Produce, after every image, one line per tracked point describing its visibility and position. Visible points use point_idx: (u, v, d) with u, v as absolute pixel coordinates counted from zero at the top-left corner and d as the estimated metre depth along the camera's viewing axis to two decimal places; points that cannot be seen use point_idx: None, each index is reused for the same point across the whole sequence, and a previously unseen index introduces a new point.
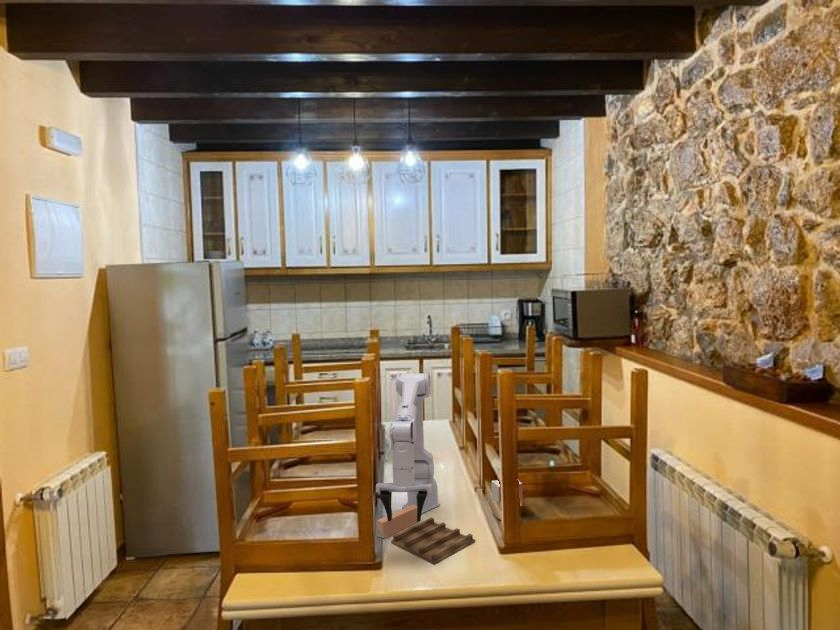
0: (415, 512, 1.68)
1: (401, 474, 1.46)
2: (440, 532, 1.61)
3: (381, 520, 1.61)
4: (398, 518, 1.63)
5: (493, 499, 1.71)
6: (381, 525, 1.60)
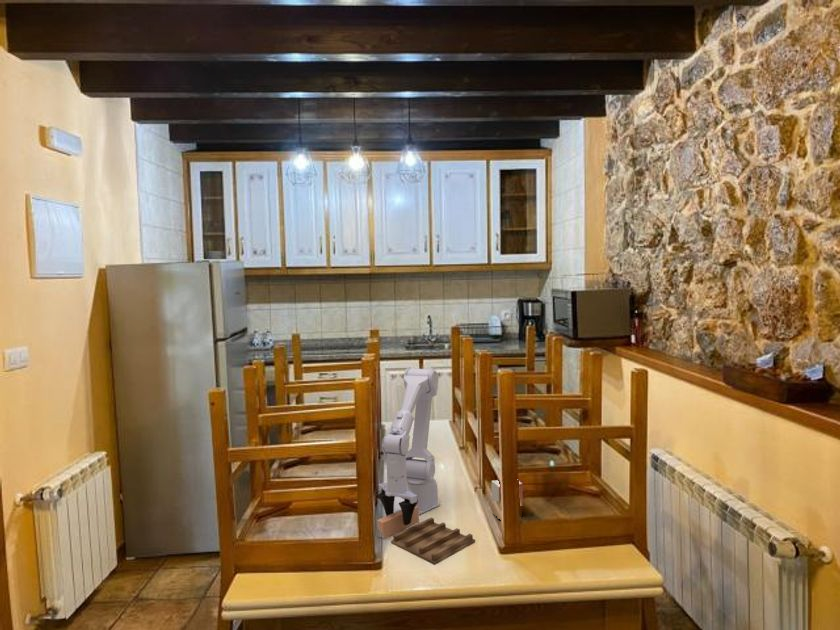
0: (415, 512, 1.68)
1: (389, 481, 1.62)
2: (440, 532, 1.61)
3: (381, 520, 1.61)
4: (398, 518, 1.63)
5: (493, 499, 1.71)
6: (381, 525, 1.60)
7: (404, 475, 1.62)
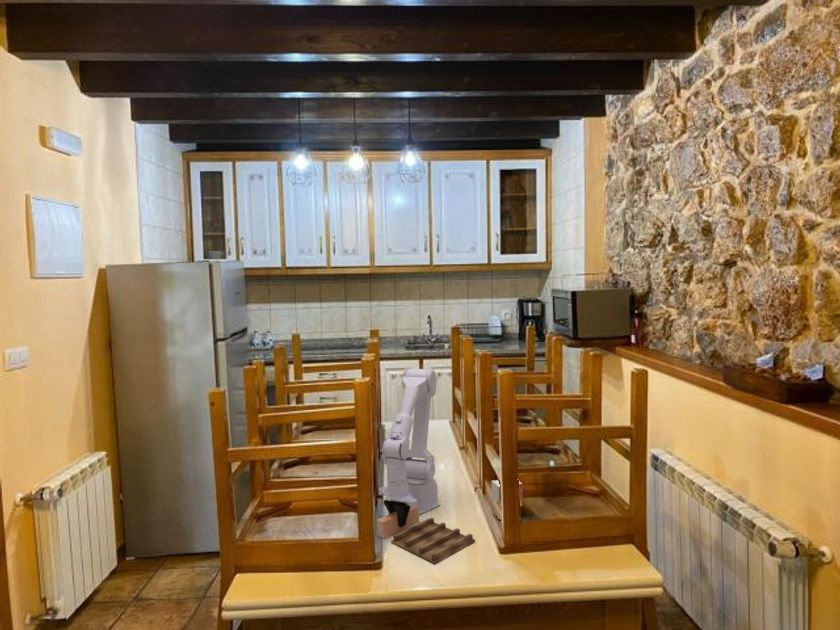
0: (415, 512, 1.68)
1: (389, 486, 1.62)
2: (440, 532, 1.61)
3: (381, 520, 1.61)
4: None
5: (493, 499, 1.71)
6: (381, 525, 1.60)
7: (404, 480, 1.62)
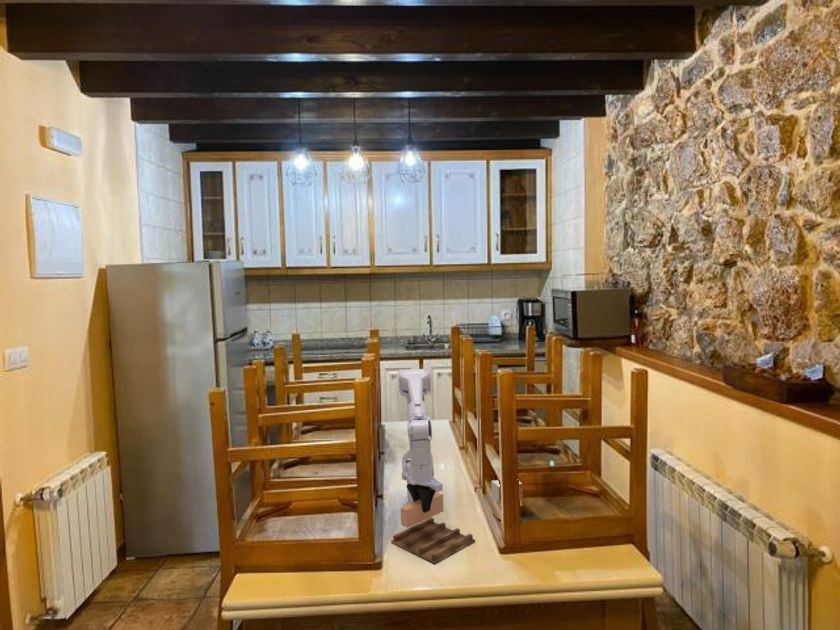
0: (439, 500, 1.61)
1: (413, 469, 1.55)
2: (440, 532, 1.61)
3: (405, 507, 1.54)
4: None
5: (493, 499, 1.71)
6: (405, 512, 1.53)
7: (430, 461, 1.56)
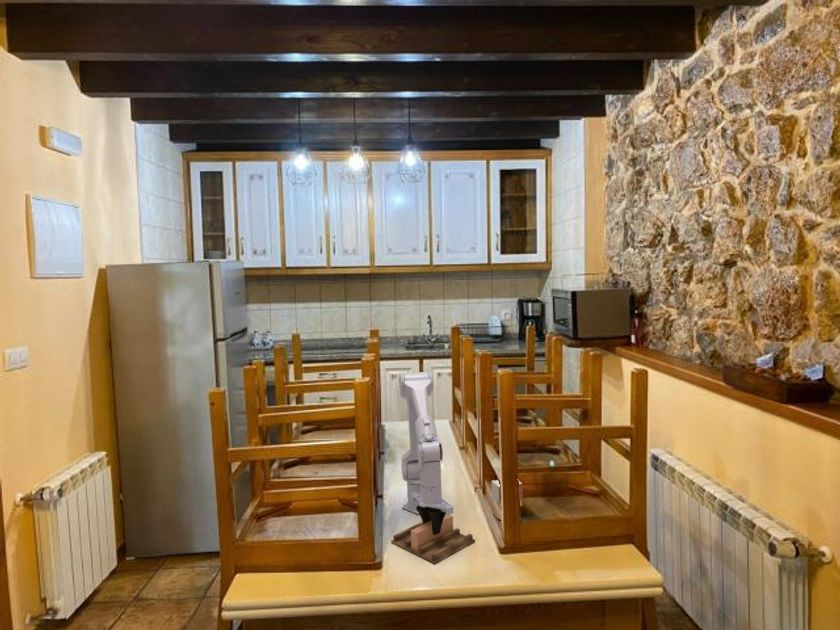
0: (449, 521, 1.59)
1: (423, 491, 1.53)
2: None
3: (415, 530, 1.52)
4: None
5: (493, 499, 1.71)
6: (415, 536, 1.51)
7: None
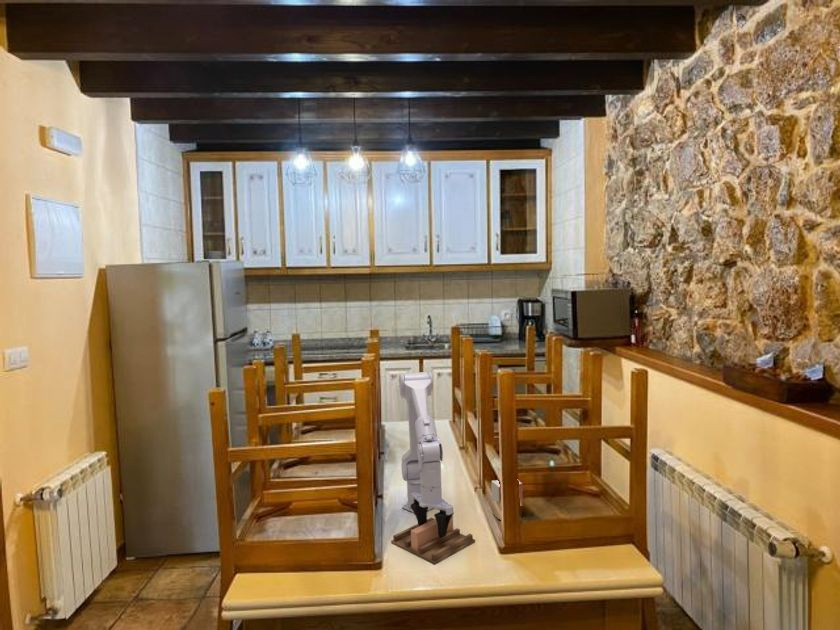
0: None
1: (423, 492, 1.53)
2: None
3: (415, 530, 1.52)
4: (432, 529, 1.55)
5: (493, 499, 1.71)
6: (415, 536, 1.51)
7: None
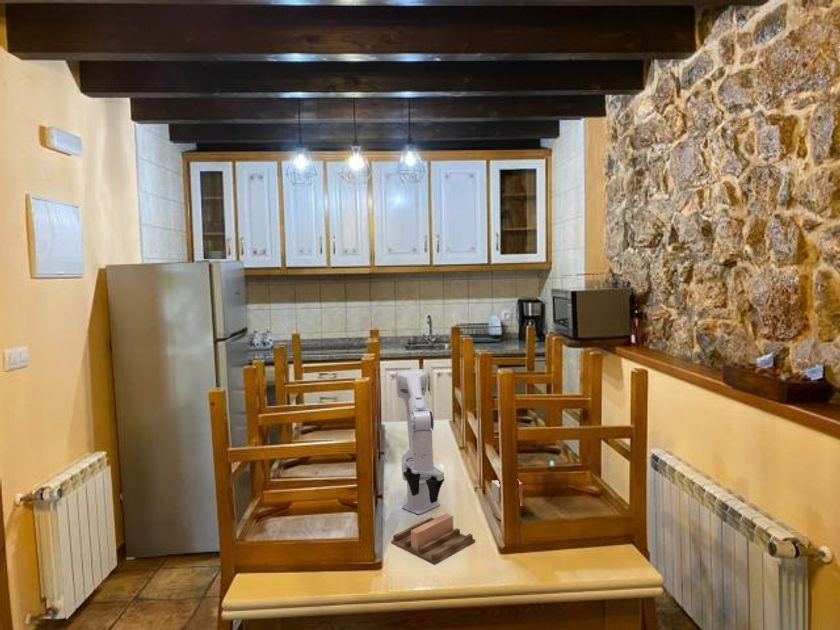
0: (449, 521, 1.59)
1: (415, 459, 1.61)
2: None
3: (415, 530, 1.52)
4: (432, 529, 1.55)
5: (493, 499, 1.71)
6: (415, 536, 1.51)
7: (432, 451, 1.62)
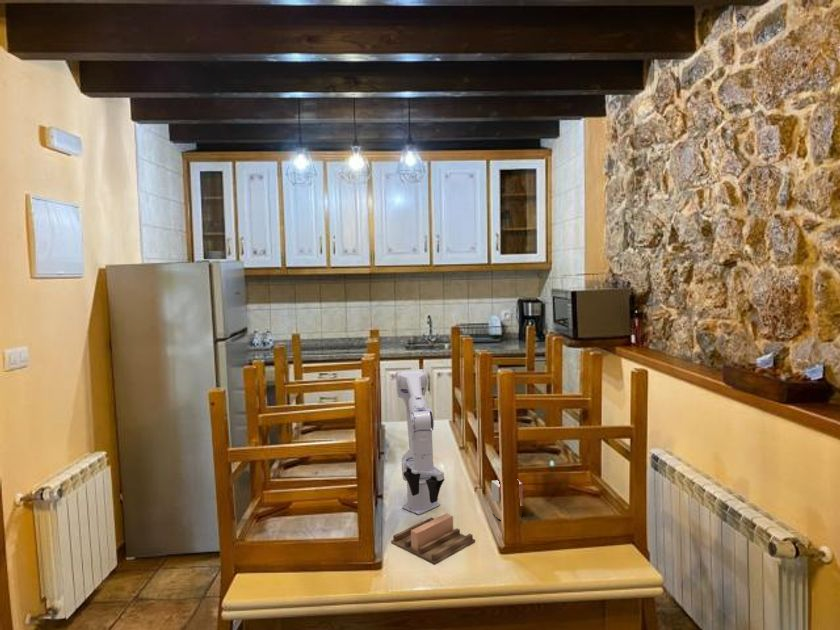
0: (449, 521, 1.59)
1: (415, 459, 1.61)
2: None
3: (415, 530, 1.52)
4: (432, 529, 1.55)
5: (493, 499, 1.71)
6: (415, 536, 1.51)
7: (432, 451, 1.62)
